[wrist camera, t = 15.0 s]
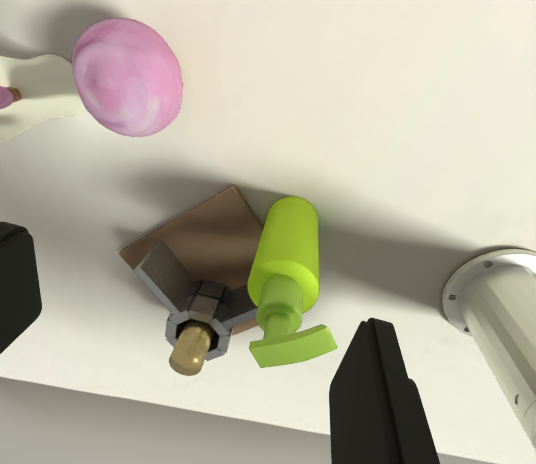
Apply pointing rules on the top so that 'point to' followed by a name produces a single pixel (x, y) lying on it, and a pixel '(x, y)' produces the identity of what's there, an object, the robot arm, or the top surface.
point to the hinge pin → (191, 347)
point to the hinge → (194, 299)
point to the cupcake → (127, 77)
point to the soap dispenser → (287, 285)
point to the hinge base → (210, 242)
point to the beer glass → (35, 93)
